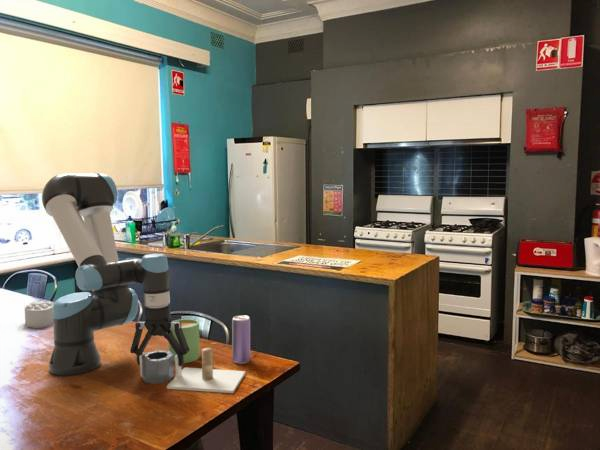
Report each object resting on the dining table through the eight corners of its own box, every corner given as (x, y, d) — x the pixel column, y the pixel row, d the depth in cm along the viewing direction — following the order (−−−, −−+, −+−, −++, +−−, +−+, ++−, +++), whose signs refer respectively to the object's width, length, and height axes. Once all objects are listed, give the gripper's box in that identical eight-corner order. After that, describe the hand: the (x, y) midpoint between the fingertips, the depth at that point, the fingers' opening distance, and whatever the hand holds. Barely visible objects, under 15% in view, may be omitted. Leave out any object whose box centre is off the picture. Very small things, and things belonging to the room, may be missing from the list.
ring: (138, 382, 145) (137, 360, 144) (151, 371, 153) (150, 349, 153) (165, 384, 144) (165, 361, 143) (177, 372, 152) (176, 351, 151)
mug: (206, 357, 166) (205, 323, 164) (180, 365, 158) (179, 330, 157) (185, 348, 174) (184, 315, 173) (159, 355, 167) (158, 321, 165)
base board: (166, 388, 141) (166, 386, 141) (184, 369, 155) (184, 367, 154) (233, 393, 138) (233, 390, 138) (245, 373, 152) (245, 371, 152)
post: (200, 380, 145) (200, 351, 144) (204, 375, 148) (203, 347, 147) (210, 380, 144) (210, 351, 143) (214, 376, 148) (213, 348, 147)
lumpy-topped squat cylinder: (50, 317, 210) (49, 298, 210) (58, 324, 200) (57, 304, 200) (23, 322, 204) (22, 302, 203) (30, 329, 194) (28, 308, 193)
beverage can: (247, 365, 159) (246, 320, 157) (229, 363, 160) (229, 319, 158) (252, 358, 164) (252, 315, 163) (235, 357, 166) (235, 314, 164)
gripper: (115, 308, 144) (119, 379, 146) (189, 308, 141) (193, 381, 143) (127, 301, 151) (131, 369, 153) (198, 302, 148) (201, 371, 150)
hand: (161, 375), depth 148 cm, fingers open, 11 cm apart
